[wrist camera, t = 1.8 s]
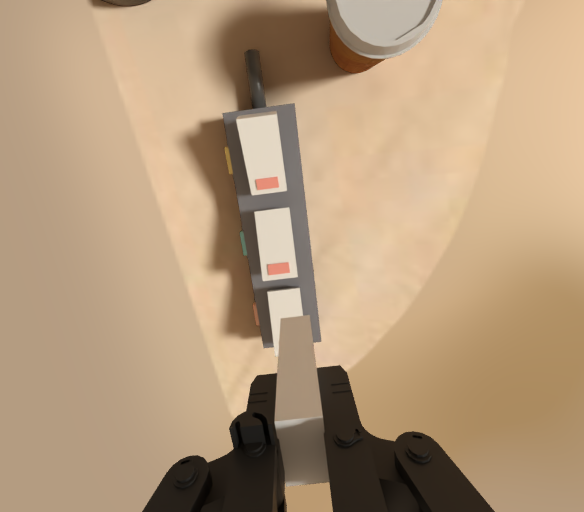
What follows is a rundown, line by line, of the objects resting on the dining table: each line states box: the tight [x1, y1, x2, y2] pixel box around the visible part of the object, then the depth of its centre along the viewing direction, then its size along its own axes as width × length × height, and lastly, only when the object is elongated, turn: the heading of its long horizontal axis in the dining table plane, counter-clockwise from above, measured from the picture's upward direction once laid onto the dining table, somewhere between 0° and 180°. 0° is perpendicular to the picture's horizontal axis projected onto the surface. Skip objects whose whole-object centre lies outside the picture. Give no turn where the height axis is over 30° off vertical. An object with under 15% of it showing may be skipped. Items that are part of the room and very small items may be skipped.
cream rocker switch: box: [267, 287, 303, 357], centre depth 38 cm, size 8×4×2 cm, turn 7°
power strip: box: [222, 50, 321, 348], centre depth 38 cm, size 36×8×5 cm, turn 7°
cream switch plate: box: [254, 207, 298, 281], centre depth 36 cm, size 8×4×2 cm, turn 7°
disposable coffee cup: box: [326, 0, 442, 73], centre depth 29 cm, size 10×10×12 cm
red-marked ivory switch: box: [236, 111, 287, 195], centre depth 33 cm, size 8×4×2 cm, turn 8°
